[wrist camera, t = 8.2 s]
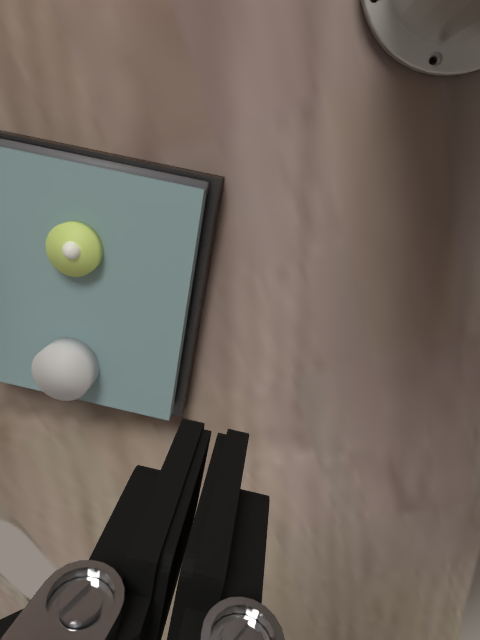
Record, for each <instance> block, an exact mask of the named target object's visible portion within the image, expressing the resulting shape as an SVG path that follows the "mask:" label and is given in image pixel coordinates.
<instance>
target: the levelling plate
mask: <svg viewBox="0 0 480 640" xmlns="http://www.w3.org/2000/svg"><path fill="white" fill-rule="evenodd" d="M208 188H209V182H207V181H202V180H198V179H193V178H188V177H183V176H178V175H174V174H169V173H164V172H159V171H154V170H150V169H145V168H140V167H135V166H131V165H126V164H121V163H116V162H111V161H107V160H102V159H97V158H92V157H87V156H83V155H78V154H73V153H68V152H63V151H59V150H54V149H49V148H44V147H39V146H35V145H30V144H25V143H20V142H15V141H11V140H6V139H1V138H0V382H4V383H8V384H12V385H17V386H21V387H25V388H30V389H34V390H38V391H43V392H44V393H45V394H46V395H48V396H50V397H52V398H54V399H57V400H61V401H72V400H76V399H77V400H82V401H86V402H90V403H95V404H99V405H103V406H107V407H112V408H116V409H120V410H125V411H129V412H133V413H138V414H142V415H146V416H151V417H155V418H159V419H164V420H168V421H169V419H170V417H171V415H172V413H173V407H174V400H175V394H176V387H177V381H178V374H179V368H180V361H181V355H182V349H183V342H184V336H185V329H186V323H187V316H188V310H189V303H190V297H191V290H192V284H193V277H194V271H195V265H196V258H197V252H198V245H199V239H200V232H201V226H202V219H203V213H204V206H205V200H206V195H207V193H208Z"/></svg>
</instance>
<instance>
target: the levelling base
mask: <svg viewBox="0 0 480 640" xmlns="http://www.w3.org/2000/svg"><path fill="white" fill-rule="evenodd" d="M0 138H1V139H6V140H11V141H15V142H20V143H25V144H30V145H35V146H39V147H44V148H49V149H54V150H59V151H63V152H68V153H73V154H78V155H83V156H87V157H92V158H97V159H102V160H107V161H111V162H116V163H121V164H126V165H131V166H135V167H140V168H145V169H150V170H154V171H159V172H164V173H169V174H174V175H178V176H183V177H188V178H193V179H198V180H202V181H207V182H209V188H208V193H207V195H206V200H205V206H204V213H203V219H202V226H201V232H200V239H199V245H198V252H197V258H196V265H195V271H194V277H193V284H192V290H191V297H190V303H189V310H188V316H187V323H186V329H185V336H184V342H183V349H182V355H181V361H180V368H179V374H178V381H177V387H176V394H175V400H174V407H173V413H172V415H173V416H178V417H181V416H182V414H183V412H184V409H185V407H186V404H187V398H188V392H189V386H190V380H191V374H192V368H193V362H194V356H195V350H196V344H197V338H198V332H199V326H200V320H201V314H202V308H203V302H204V296H205V290H206V284H207V278H208V272H209V266H210V260H211V254H212V248H213V242H214V236H215V230H216V224H217V218H218V212H219V206H220V200H221V194H222V188H223V182H224V177H223V176H218V175H213V174H208V173H203V172H199V171H194V170H189V169H184V168H179V167H175V166H170V165H165V164H160V163H155V162H150V161H146V160H141V159H136V158H131V157H126V156H122V155H117V154H112V153H107V152H102V151H98V150H93V149H88V148H83V147H78V146H74V145H69V144H64V143H59V142H54V141H49V140H45V139H40V138H35V137H30V136H25V135H21V134H16V133H11V132H6V131H1V130H0Z"/></svg>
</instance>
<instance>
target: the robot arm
mask: <svg viewBox="0 0 480 640" xmlns="http://www.w3.org/2000/svg"><path fill="white" fill-rule="evenodd" d="M360 1H361V4H362V8H363V12H364V15H365V19H366V21H367V23H368V25H369V28H370V30H371V32H372V34H373V36H374V37H375V39H376V40H377V41H378V43H379V44H380V45H381V47H382V48H383V49H384V50H385V52H387V53H388V54H389V55H390V56H391V57H392V58H394V59H395V60H396V61H397V62H398V63H400V64H402V65H404V66H406V67H408V68H410V69H412V70H414V71H417V72H421V73H425V74H429V75H436V76H453V75H459V74H465V73H470V72H473V71H476V70H479V69H480V0H378V1H377V2H376V3H372V2H371V1H370V0H360ZM430 57H434V58H435V60H436V61H435V64H434V65H431V64H430V63H429V59H430ZM210 437H211V431H209V430H204V423H201V422H196V421H192V420H188V419H182V421H181V423H180V426H179V428H178V431H177V433H176V435H175V438H174V440H173V442H172V445H171V447H170V450H169V452H168V454H167V457H166V459H165V462H164V464H163V466H162V469H161V470H157V469H153V468H148V467H144V466H140V465H138V466H136V468H135V469H134V471H133V473H132V475H131V477H130V479H129V481H128V483H127V485H126V487H125V489H124V491H123V493H122V495H121V497H120V499H119V501H118V503H117V505H116V507H115V509H114V511H113V513H112V515H111V517H110V519H109V521H108V523H107V525H106V527H105V529H104V531H103V533H102V535H101V537H100V539H99V541H98V543H97V545H96V547H95V549H94V551H93V553H92V555H91V557H90V559H89V560H79V561H76V562H73V563H70V564H67V565H65V566H63V567H61V568H60V569H58V570H56V571H55V572H54V573H53V574H52V575H51V576H50V577H49V578H48V579H47V580H46V581H45V582H44V583H43V585H42V586H41V587H40V589H39V590H38V591H37V592H36V594H35V595H34V596H33V598H32V599H31V600H30V601H29V603H28V604H27V605H26V607H25V608H24V609H22V610H20V611H18V612H16V613H13V614H11V615H9V616H7V617H5V618H3V619H1V620H0V640H161V638H162V635H163V631H164V627H165V624H166V620H167V616H168V613H169V609H170V605H171V602H172V598H173V595H174V591H175V587H176V584H177V580H178V576H179V573H180V576H179V580H178V585H177V591H176V596H175V601H174V606H173V611H172V616H171V622H170V627H169V632H168V637H167V640H285V639H284V635H283V632H282V628H281V626H280V624H279V622H278V621H277V619H276V617H275V616H274V615H273V614H272V613H271V612H270V611H269V610H268V609H267V608H266V606H264V605H262V604H261V603H262V590H263V577H264V564H265V552H266V539H267V526H268V513H269V496H267V495H263V494H259V493H254V492H250V491H246V490H242V489H240V487H241V481H242V475H243V469H244V463H245V457H246V451H247V445H248V439H249V434H248V433H244V432H240V431H235V430H231V429H228V431H227V435H226V434H222V433H218V435H217V438H216V442H215V446H214V449H213V453H212V457H211V460H210V464H209V467H208V471H207V475H206V478H205V482H204V486H203V489H202V493H201V497H200V500H199V504H198V507H197V502H198V497H199V492H200V487H201V482H202V477H203V472H204V467H205V462H206V457H207V452H208V447H209V442H210ZM196 507H197V511H196ZM195 512H196V515H195ZM194 517H195V518H194ZM193 521H194V522H193ZM192 525H193V526H192ZM189 536H190V537H189ZM183 558H184V559H183ZM182 562H183V563H182ZM181 565H182V567H181ZM180 569H181V571H180Z"/></svg>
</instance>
